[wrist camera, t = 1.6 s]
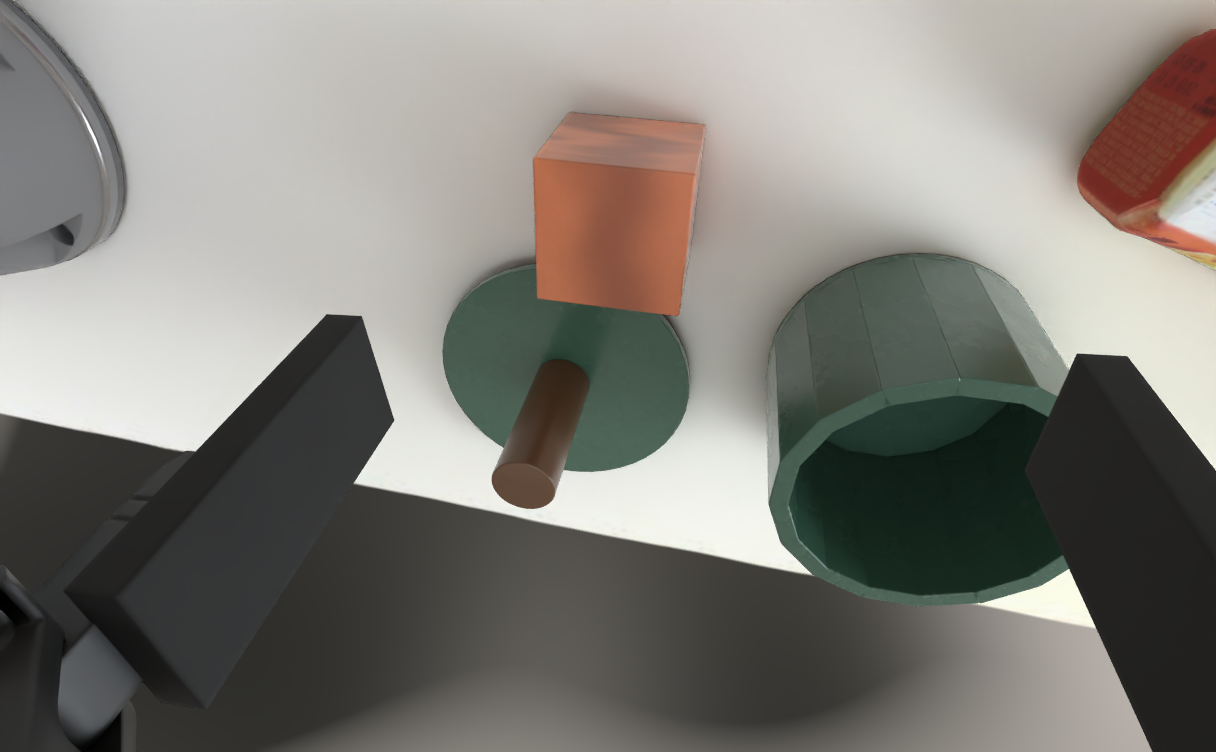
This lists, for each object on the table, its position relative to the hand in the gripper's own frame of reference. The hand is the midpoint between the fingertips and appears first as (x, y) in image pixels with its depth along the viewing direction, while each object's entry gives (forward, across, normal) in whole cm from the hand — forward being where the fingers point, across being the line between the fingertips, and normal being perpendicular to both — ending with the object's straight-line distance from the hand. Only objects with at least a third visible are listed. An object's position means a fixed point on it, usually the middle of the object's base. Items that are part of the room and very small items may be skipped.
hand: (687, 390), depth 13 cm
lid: (+18, -8, -14) cm, 24 cm away
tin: (+19, +9, -12) cm, 25 cm away
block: (+19, -4, -3) cm, 20 cm away
